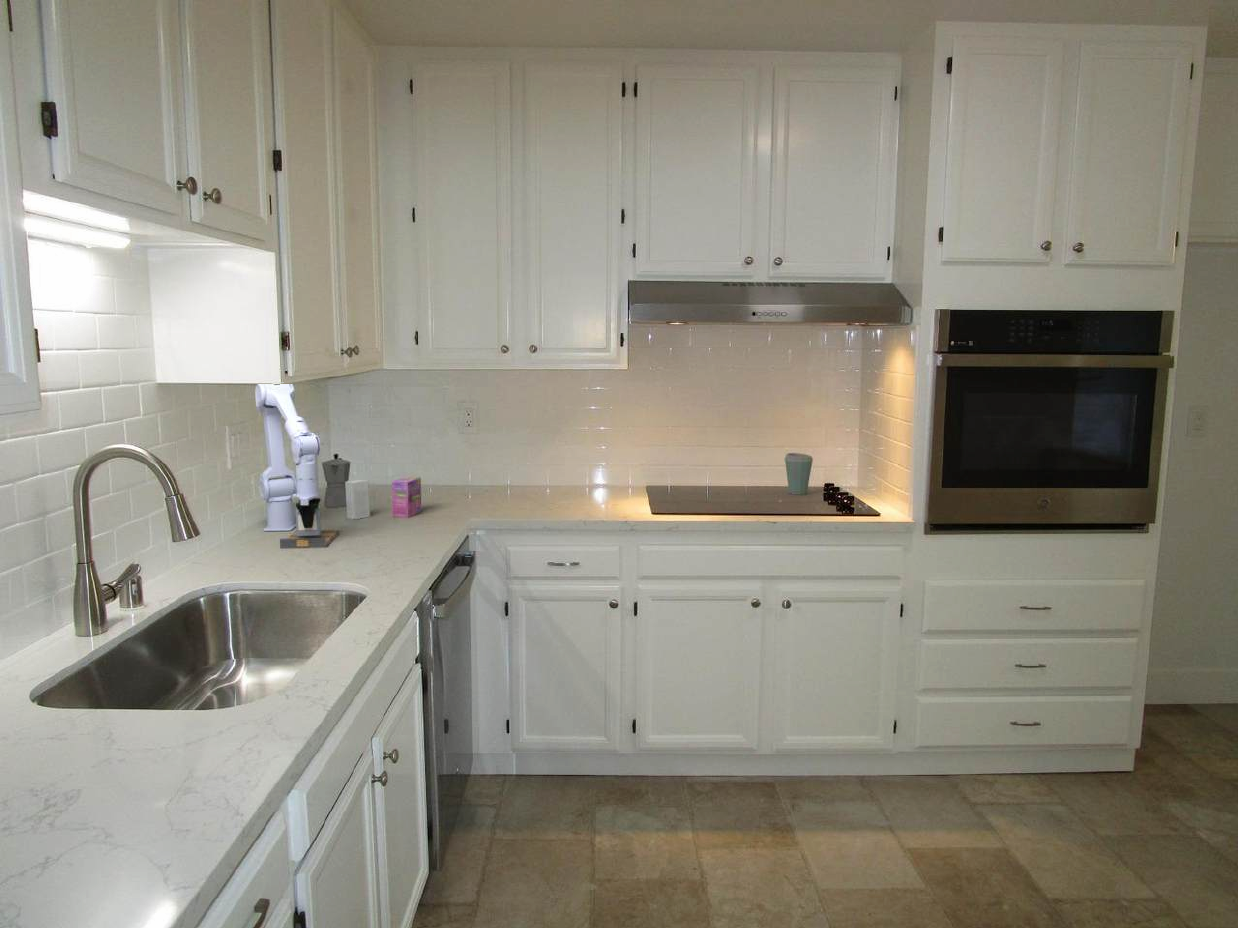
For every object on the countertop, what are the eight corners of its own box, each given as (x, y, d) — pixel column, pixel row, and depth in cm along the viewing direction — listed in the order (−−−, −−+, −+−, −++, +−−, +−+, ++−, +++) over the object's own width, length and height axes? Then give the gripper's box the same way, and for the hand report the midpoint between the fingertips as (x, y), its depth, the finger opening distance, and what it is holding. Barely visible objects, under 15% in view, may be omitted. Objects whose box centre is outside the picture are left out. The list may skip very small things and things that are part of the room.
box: (408, 518, 276) (407, 481, 274) (392, 517, 277) (391, 481, 275) (422, 511, 286) (421, 476, 284) (406, 511, 287) (405, 476, 285)
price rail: (281, 547, 235) (280, 538, 235) (326, 546, 236) (325, 537, 236) (279, 548, 234) (279, 539, 234) (325, 547, 235) (324, 538, 235)
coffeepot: (348, 508, 290) (346, 456, 288) (319, 509, 289) (317, 456, 287) (356, 500, 306) (354, 450, 303) (328, 501, 304) (326, 450, 302)
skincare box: (362, 515, 280) (361, 479, 278) (370, 517, 277) (368, 480, 275) (346, 518, 275) (344, 481, 273) (353, 520, 272) (352, 482, 271)
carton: (298, 532, 244) (297, 508, 243) (321, 531, 245) (319, 507, 244) (296, 535, 240) (295, 511, 239) (319, 535, 241) (318, 510, 240)
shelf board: (296, 534, 251) (296, 530, 251) (338, 533, 252) (338, 529, 252) (281, 547, 235) (281, 543, 235) (326, 546, 236) (326, 542, 236)
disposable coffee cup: (816, 492, 326) (817, 453, 324) (806, 497, 317) (807, 456, 315) (789, 490, 332) (790, 451, 330) (779, 494, 323) (780, 454, 321)
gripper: (296, 474, 246) (298, 521, 248) (287, 483, 232) (290, 532, 234) (322, 474, 248) (324, 520, 250) (315, 482, 234) (317, 531, 236)
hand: (309, 526), depth 242 cm, fingers closed on carton, 4 cm apart
